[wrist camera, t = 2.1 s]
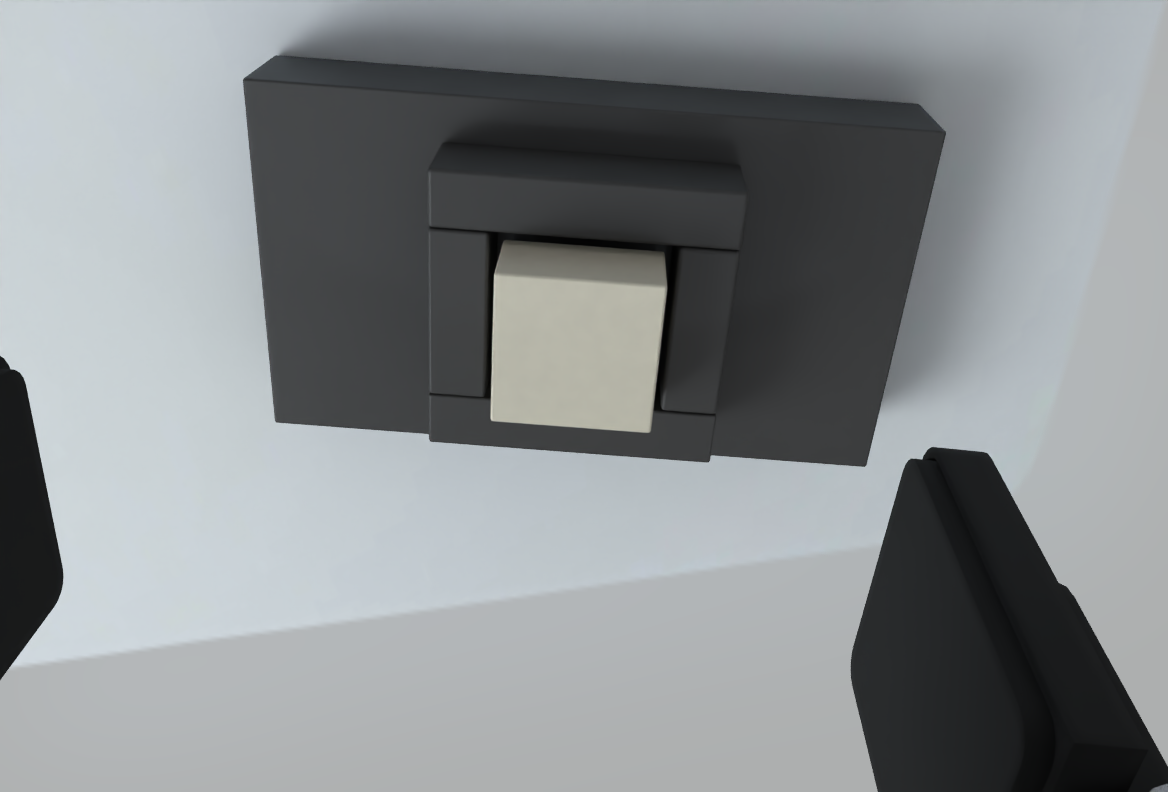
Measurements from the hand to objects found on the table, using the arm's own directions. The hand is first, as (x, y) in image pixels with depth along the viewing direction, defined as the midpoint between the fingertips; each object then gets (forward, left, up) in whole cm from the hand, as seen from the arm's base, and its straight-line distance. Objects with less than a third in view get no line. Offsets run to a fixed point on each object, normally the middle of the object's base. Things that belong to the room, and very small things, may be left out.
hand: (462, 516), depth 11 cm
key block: (-1, +2, -14) cm, 14 cm away
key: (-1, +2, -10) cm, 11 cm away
